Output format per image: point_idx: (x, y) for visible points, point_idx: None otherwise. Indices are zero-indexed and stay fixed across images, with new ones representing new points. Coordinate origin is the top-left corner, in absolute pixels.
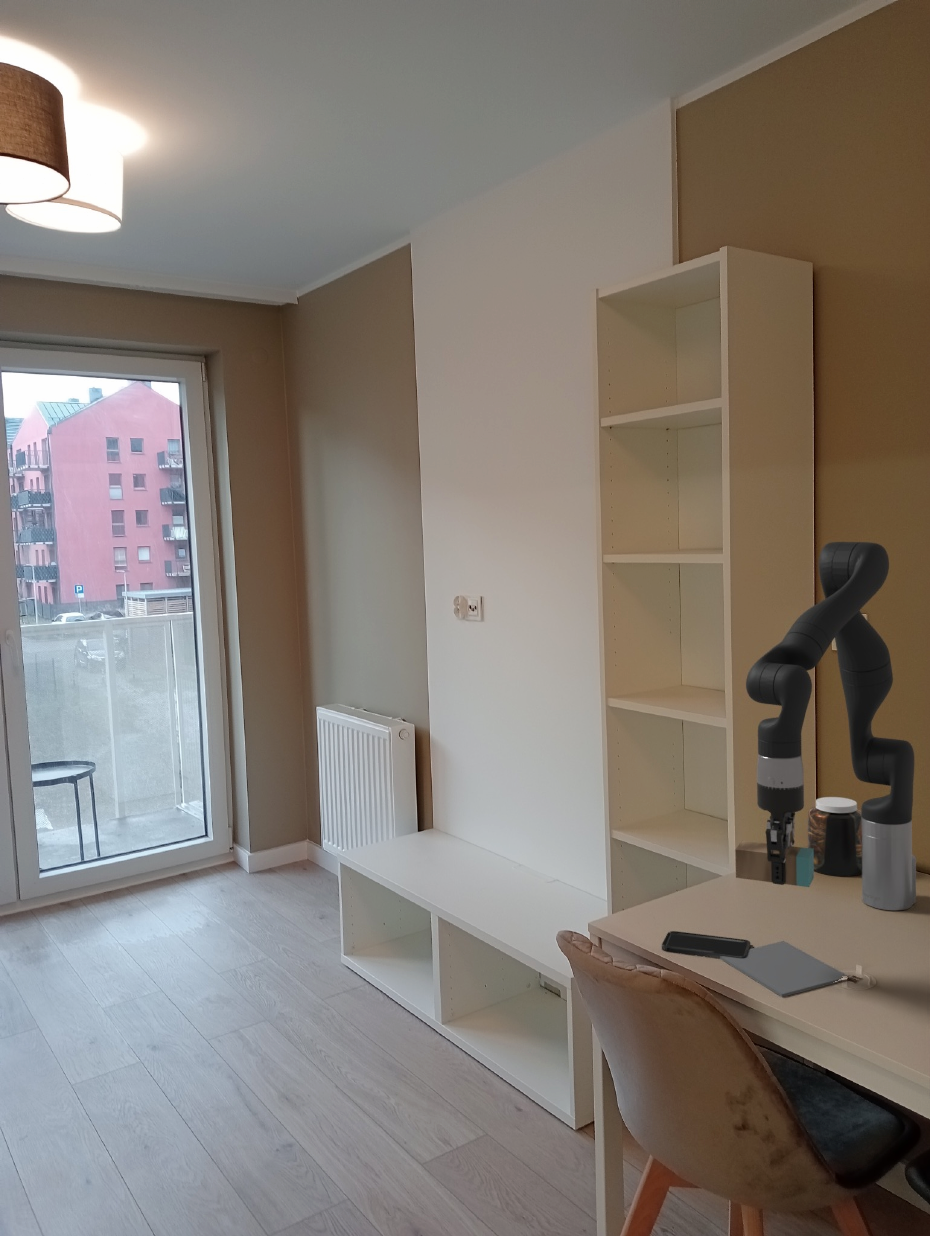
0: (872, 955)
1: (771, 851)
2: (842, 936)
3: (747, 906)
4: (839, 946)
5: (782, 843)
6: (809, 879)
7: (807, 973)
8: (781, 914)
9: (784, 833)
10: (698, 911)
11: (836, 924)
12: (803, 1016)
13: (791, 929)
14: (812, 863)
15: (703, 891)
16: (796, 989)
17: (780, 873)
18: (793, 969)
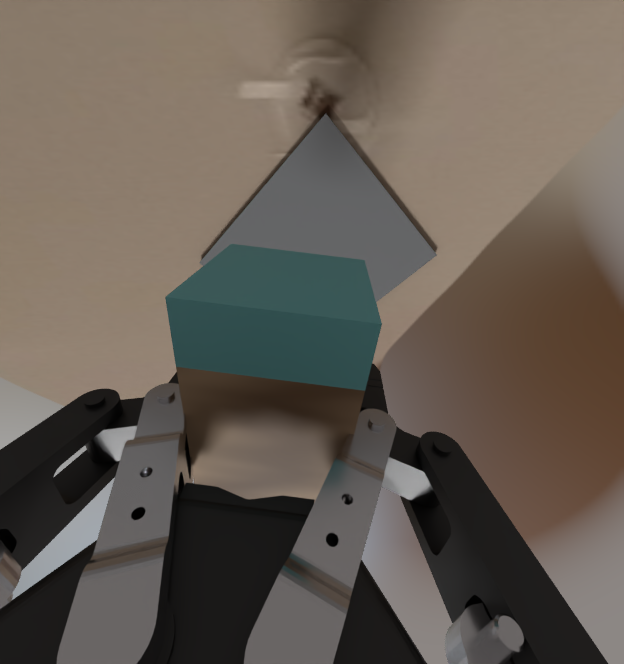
0: (170, 49)
1: (418, 519)
2: (100, 135)
3: (71, 328)
4: (158, 142)
5: (512, 569)
6: (358, 269)
7: (334, 210)
8: (67, 271)
9: (375, 605)
10: (140, 392)
11: (41, 152)
12: (512, 210)
13: (126, 249)
14: (244, 272)
15: (57, 391)
16: (413, 229)
17: (383, 393)
18: (324, 238)
